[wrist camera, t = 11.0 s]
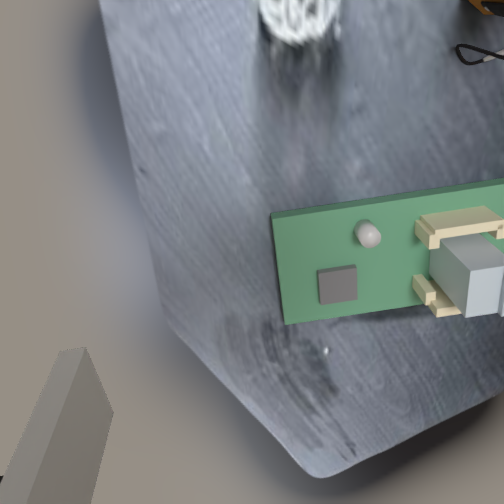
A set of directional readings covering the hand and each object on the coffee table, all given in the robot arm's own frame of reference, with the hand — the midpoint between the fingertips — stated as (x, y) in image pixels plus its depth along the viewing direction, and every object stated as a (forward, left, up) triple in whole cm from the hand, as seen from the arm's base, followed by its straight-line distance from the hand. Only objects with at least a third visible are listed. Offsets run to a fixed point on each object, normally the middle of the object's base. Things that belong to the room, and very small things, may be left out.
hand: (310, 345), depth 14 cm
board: (+16, +13, -31) cm, 37 cm away
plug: (+16, +19, -30) cm, 39 cm away
